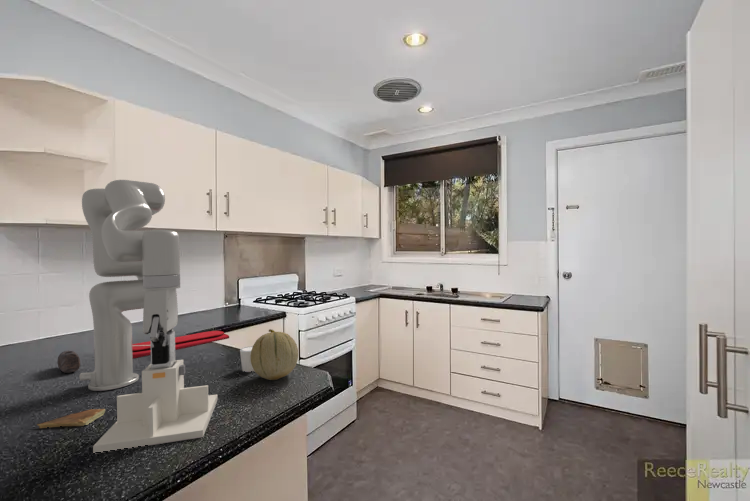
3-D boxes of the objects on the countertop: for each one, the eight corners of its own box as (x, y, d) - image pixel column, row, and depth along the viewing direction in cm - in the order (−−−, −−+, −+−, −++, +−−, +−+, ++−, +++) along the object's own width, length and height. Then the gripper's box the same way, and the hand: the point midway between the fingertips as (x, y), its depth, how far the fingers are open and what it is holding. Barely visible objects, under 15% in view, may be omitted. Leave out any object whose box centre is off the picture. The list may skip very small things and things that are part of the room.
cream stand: (93, 453, 70) (91, 386, 70) (132, 410, 89) (131, 357, 89) (203, 437, 75) (201, 374, 75) (217, 399, 95) (216, 349, 95)
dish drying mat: (230, 339, 164) (229, 331, 164) (126, 361, 133) (126, 351, 133) (214, 335, 174) (214, 327, 174) (114, 354, 143) (114, 345, 143)
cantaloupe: (273, 390, 100) (272, 338, 100) (240, 381, 108) (239, 332, 108) (308, 374, 113) (307, 328, 113) (277, 367, 120) (276, 324, 121)
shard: (36, 430, 81) (36, 422, 81) (64, 415, 89) (64, 408, 89) (85, 428, 81) (85, 421, 81) (108, 413, 89) (108, 406, 89)
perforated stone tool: (54, 368, 126) (54, 348, 126) (73, 364, 130) (73, 345, 130) (61, 377, 116) (60, 356, 116) (81, 372, 120) (81, 352, 120)
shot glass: (254, 373, 116) (254, 351, 116) (236, 372, 117) (235, 351, 117) (265, 366, 122) (264, 346, 122) (247, 365, 124) (247, 345, 124)
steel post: (151, 415, 80) (150, 336, 80) (157, 407, 84) (156, 332, 84) (171, 412, 81) (170, 334, 81) (176, 405, 85) (175, 330, 85)
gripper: (155, 280, 89) (157, 352, 89) (129, 286, 73) (131, 374, 73) (188, 279, 92) (189, 349, 91) (169, 285, 75) (171, 370, 75)
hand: (163, 359), depth 82 cm, fingers closed on steel post, 4 cm apart
